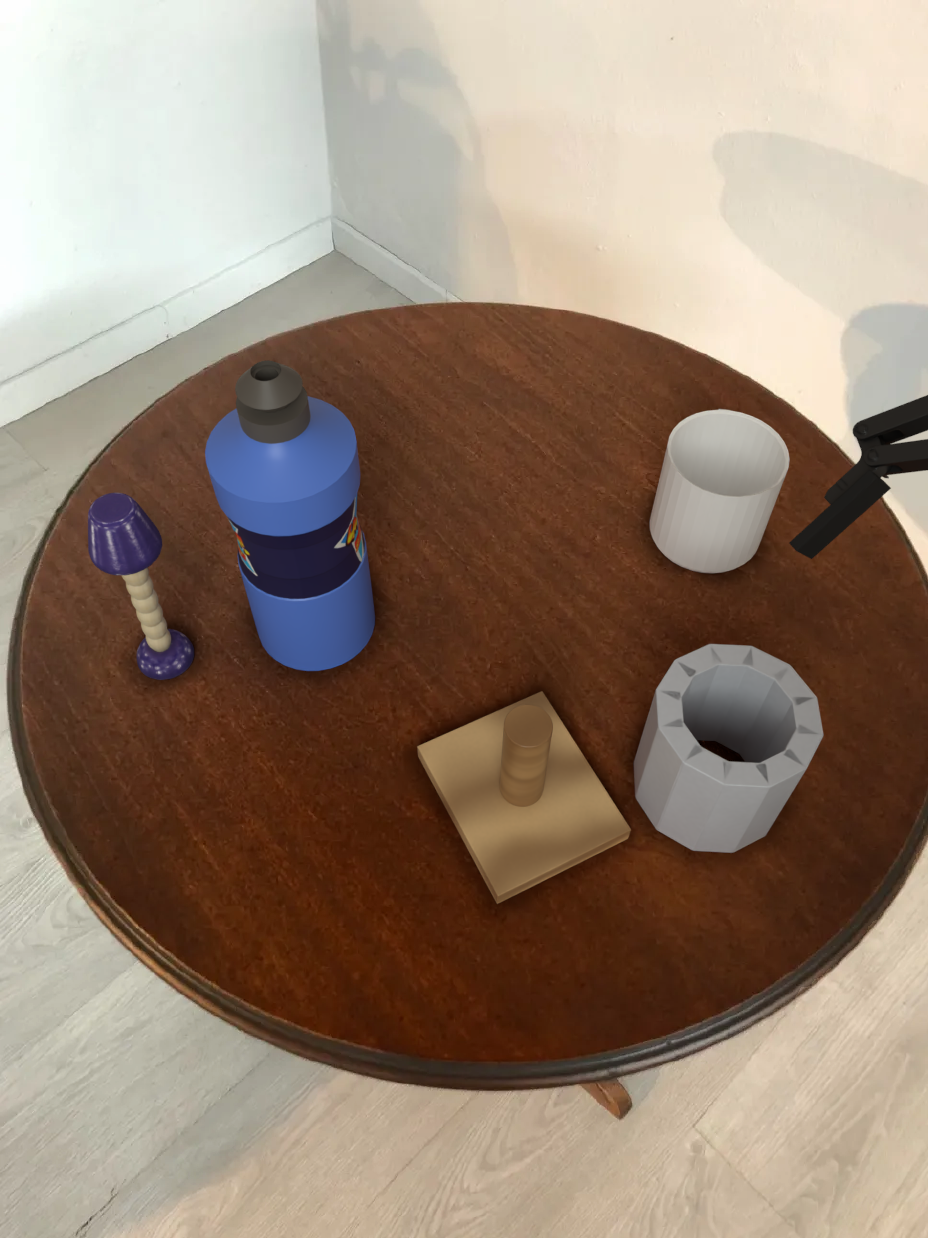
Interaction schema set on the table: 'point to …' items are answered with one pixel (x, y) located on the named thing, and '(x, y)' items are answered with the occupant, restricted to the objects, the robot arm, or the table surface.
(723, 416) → the mug
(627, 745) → the table surface
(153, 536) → the toy lamp
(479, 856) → the stand
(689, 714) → the silver tape
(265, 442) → the water bottle
